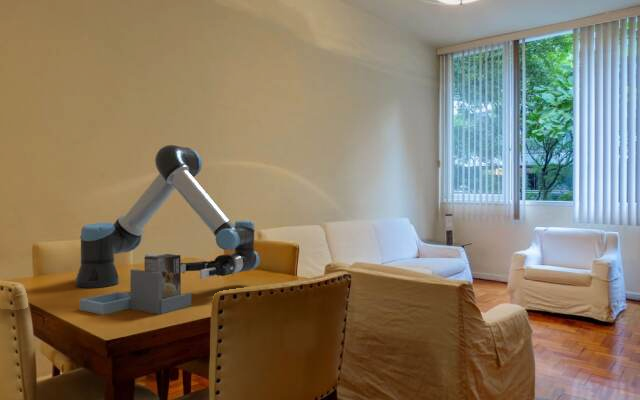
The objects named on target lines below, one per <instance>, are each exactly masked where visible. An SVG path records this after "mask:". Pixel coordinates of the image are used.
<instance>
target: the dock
mask: <svg viewBox="0 0 640 400" xmlns="http://www.w3.org/2000/svg"><path fill="white" fill-rule="evenodd" d="M129 278H130V280H129V281H130V284H129V285H130V287H129V288H130V291H129V294H130V308H129V309H130V310H134V311H139V312H145V313H150V314H154V315H163V314H168V313H170V312H175V311H179V310H182V309H185V308H190V307H192V292H187V293H186V292H185V293H183V294H181V295H178V296H174V297H170V298H166V299H162V273H158V272H151V271H145V270H141V269H130V277H129Z"/></svg>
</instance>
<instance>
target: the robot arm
mask: <svg viewBox="0 0 640 400" xmlns="http://www.w3.org/2000/svg"><path fill="white" fill-rule="evenodd" d="M154 160H155V161H154V162H155V166H156V169H157V171H158V175H157V176H156V177H155V179H154V180H153V181H152V182H151V183H150V185H148V187H147V188H146V190H145V191H144V192H143V193H142V195H140V197H139V198H138V200H137V201H136V202H135V203H134V205H132V207H131V208H130V209H129V211H128V212H127V213H126V215H120V216H119V217H118V218H117V219H116V220H115V221H114V223H112V222H97V223H90V224H85V225H84V226H82V228H81V230H80V231H81V232H80V238H79V239H80V267H79V269H78V272H77V274H76V278H75V283H74V284H75V285H74V286H75V287H77V288H85V289H86V288H87V289H89V288H91V289H92V288H104V287H111V286H115V285H117V284H119V282H120V281H119V280H120V278H119V277H120V276H119V274H118V271H117V268H116V265H115V255H118V254H125V253H129V252H132V251H134V250H135V249H137V248H139V246H140V245H141V243H142V241H143V240H142V239H143V238H142V237H143V235H144V232H145V231H144V228H145V226H146V225H147V224H148V223H149V222H150V220H151V219H152V218H153V217H154V215H155V214H156V213H157V212H158V211H159V209H160V208H161V207H162V206H163V205H164V203H165V202H166V201H167V200H168V198H169V197H170V196H171V195H172V194H173V192H174V191H175V190H177V192H179V194H180V195H181V196H182V198H183V199H184V200H185V201H186V202H187V204H188V205H189V206H190V208H192V210H193V211H194V212H195V213H196V214H197V216H198V217H199V218H200V219H201V221H202V222H203V223H204V224H205V226H206V227H207V228H208V229H209V230H210V231H211V233H212V234H213V235H214V237H215V243H216V245H217V247H218V248H219V249H222V250H225V251H227V250H229V251H231V250H234V252H232V253H226V254H221V255H220V254H219V255H218V256H216V257H215V258H214V260H209V261H206V260H203V261H194V262H181V274H185V273H186V272H195V271H199V279H207V278H211V277H212V278H213V277H216V276H217V277H219V276H220V277H224V276H229V275H231V276H234V275H235V274H236V273H242V272H249V271H251V270H254V269H256V268H257V267H258V266H259V264H260V256H259V253H258V252H257V251H255V230H256V229H255V223H254V221H252V220H236V221H235V222H234V224H233V223H232V222H231V220H230V219H229V218H228V216H227V215H226V214H225V213H224V211H222V210H221V208H220V207H219V206H218V205H217V203H216V202H215V201H214V199H212V197H211V196H210V195H209V194H208V192H207V191H206V190H205V189H204V188H203V187H202V186H201V184H200V183H199V181H197V180H196V179H195V177H196V176H197V175H198V174H200V172H201V170H202V165H203V163H202V158H201V156H200V154H199V153H198V152H197V151H196V150H194V149H193V148H190V147H183V146H179V145H173V144H169V145H165V146H163V147H161V148H159V150H158V151H157V152H156V155H155V158H154Z"/></svg>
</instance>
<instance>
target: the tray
mask: <svg viewBox="0 0 640 400" xmlns="http://www.w3.org/2000/svg"><path fill="white" fill-rule="evenodd" d="M129 309H130V292H129V293H128V292H123V291H116V292H110V293H105V294H99V295H96V296H95V295H94V296H90V297H85V298H81V299H79V310H80V311H84V312H88V313H92V314H98V315H101V316H102V315H108V314H113V313H115V312H116V311H117V312H121V311H124V310H129Z"/></svg>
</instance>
